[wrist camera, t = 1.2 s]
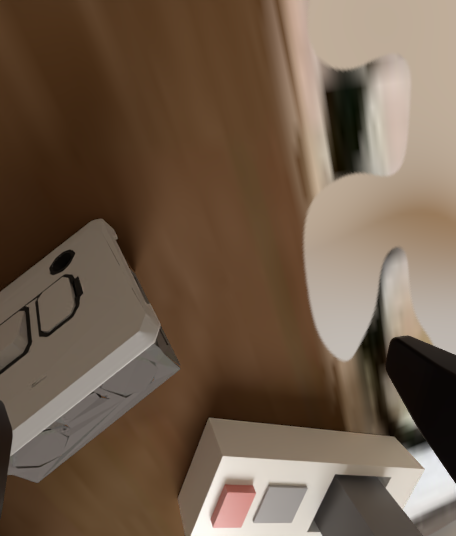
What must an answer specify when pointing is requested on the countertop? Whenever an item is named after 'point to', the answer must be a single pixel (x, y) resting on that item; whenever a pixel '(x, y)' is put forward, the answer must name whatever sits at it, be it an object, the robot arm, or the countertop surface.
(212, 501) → the power strip
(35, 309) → the electrical switch
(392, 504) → the block
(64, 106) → the countertop surface
